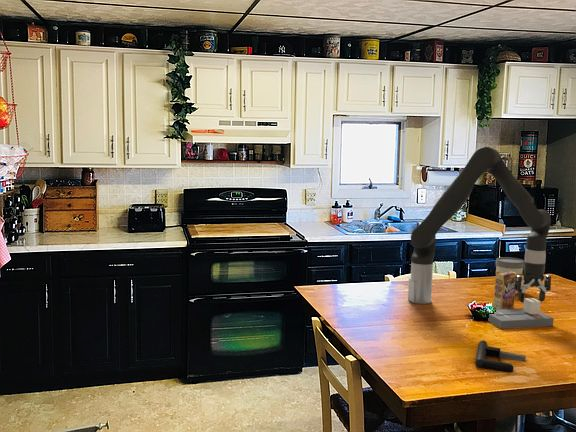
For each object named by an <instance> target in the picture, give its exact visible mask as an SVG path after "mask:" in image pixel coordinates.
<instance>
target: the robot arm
mask: <svg viewBox="0 0 576 432" xmlns="http://www.w3.org/2000/svg"><path fill="white" fill-rule="evenodd" d="M486 172H487V173H489V174H490V175H491V176H492V177H493V178H494V179H495V180H496V182H498V184H499V185H500V187H501V189H502V190H503V192H504V194H505V195H506V197H507V198H508V199H509V200H510V202H511V203H512V204H513V205H514V207H515V208H516V209H517V210H518V212H519V215H520V216H521V218H522V220H523V221H524V223H525V224H526V225H527V226H528V227H530V228H531V229H530V233H529V234H528V235H527V237H526V246H525V253H524V259H523V261H524V268H523V276H518V275H516V279H515V286H514V290H516V291H518V297H517V298H518V300H519V302H521V303H524V298H525V296H526V295H525V292H526V291H527V290H528V289H529V288H533V287H535V288H538V289H539V294H538V301H541V303H542V302H545V299H546V293H547V291H549V292H550V291H551V290H552V287H551V286H552V276H551V275H548V274H545V272H546V271H545V269H546V258H547V257H546V256H547V254H546V248H547V238H548V236H549V235H548V234H549V232H550V227H551V221H552V219H551V218H552V217H551V215H550V213H549V211H547V210H546V209H543V208H541V209H538V208H537V206H536V205H535V204H534V203H535V200H534V198H533V196H532V195H531V194H530V193H529V192H528V191H527V189H526V188H525V187H524V186H523V185H522V184H521V182H520V181H519V180H518V179H517V178H516V177H515V176H514V175H513V173H512V172H511V170H510V169H509V168H508V166H507V164H506V162H504V160H503V158H502V156H501V154H500V153H499V151H498V150H497V149H495V148H492V147H490V146H488V145H487V146H481V147H479V148H477V149H476V150H475V151H474V153H473V154H472V155H471V157H470V158H469V160H468V161H467V163H466V165H465V167H463V169H462V170H461V172H460V173H459V174H458V175H457V176H456V177H455V179H454V180H453V181H452V182H451V184H450V185H449V186H448V187H447V188H446V190H445V191H444V192H443V193H442V195H441V196H440V197H439V199H438V200H437V201H436V203H435V204H434V206H433V207H432V209H431V210H430V212H429V213H428V215H427V216H426V217H425V218H424V219H423V220H422V222H420V224H418V225H417V226H416V227H415V228H414V229H413V230H412V232H411V235H410V243H411V245H412V246H413V252H412V255H411V258H410V260H411V261H410V262H411V264H410V265H411V266H410V278H408V287H407V288H408V289H407V290H408V291H407V292H408V293H407V300H408V301H410V302H411V303H413V304H422V305H425V304H426V305H427V304H431V302H432V299H433V298H432V297H433V296H432V293H433V270H434V257H435V255H436V254H435V252H436V241H437V240H436V239H437V237H436V235H437V233H439V230H441V228H442V227H443V225H445V224H447V222H449V221H450V220H451V219H452V217H454V216H455V215H457V212H459V210H460V209H462V207H463V206H464V204H465V203H466V202H467V201H468V200H469V198H470V195H471V193H472V192H473V189H474V186H475V184H476V182H477V181H478V180H479V179H480V178H481V176H483V174H484V173H486ZM543 281H544V283H543Z"/></svg>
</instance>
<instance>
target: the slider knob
mask: <svg viewBox="0 0 576 432" xmlns="http://www.w3.org/2000/svg"><path fill="white" fill-rule="evenodd" d="M541 303H542V302H541V301H539V299H536V298H534V297H527V298H525V297H524V302H523V306H522V308H523V311H525V312H527V313H529V314H540V312H541Z"/></svg>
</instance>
